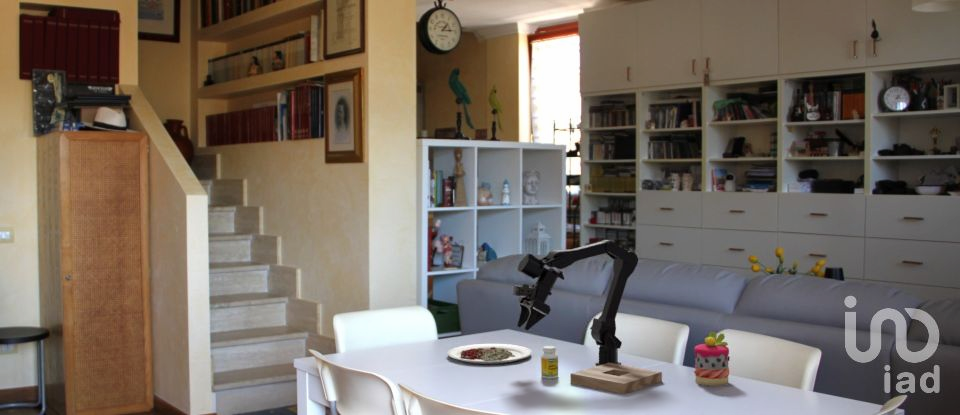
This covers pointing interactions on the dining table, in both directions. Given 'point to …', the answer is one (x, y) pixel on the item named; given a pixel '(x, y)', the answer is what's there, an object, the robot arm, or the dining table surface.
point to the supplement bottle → (549, 362)
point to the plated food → (489, 353)
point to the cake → (712, 361)
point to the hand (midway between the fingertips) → (522, 328)
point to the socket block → (616, 377)
